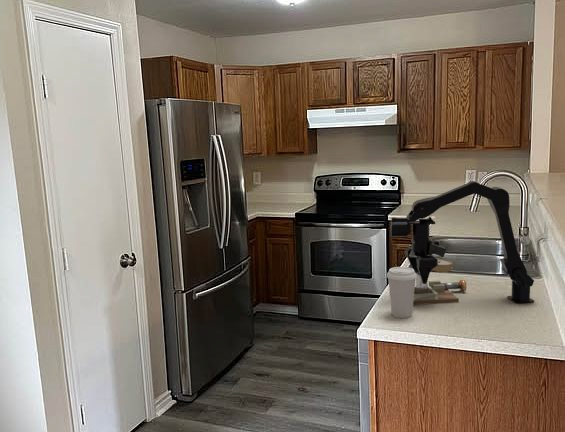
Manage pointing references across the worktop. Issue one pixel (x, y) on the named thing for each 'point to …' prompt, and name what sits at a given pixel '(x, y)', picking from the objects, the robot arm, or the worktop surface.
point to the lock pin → (456, 285)
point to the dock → (435, 295)
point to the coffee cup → (401, 291)
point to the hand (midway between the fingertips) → (420, 280)
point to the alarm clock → (443, 265)
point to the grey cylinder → (420, 285)
